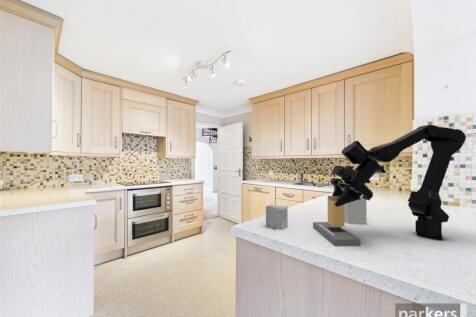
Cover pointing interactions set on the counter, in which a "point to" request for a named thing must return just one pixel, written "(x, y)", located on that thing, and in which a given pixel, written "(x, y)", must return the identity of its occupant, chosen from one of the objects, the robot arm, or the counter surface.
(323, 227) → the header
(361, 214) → the supplement box
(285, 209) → the medicine box
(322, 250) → the counter surface
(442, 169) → the robot arm
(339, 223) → the plug
